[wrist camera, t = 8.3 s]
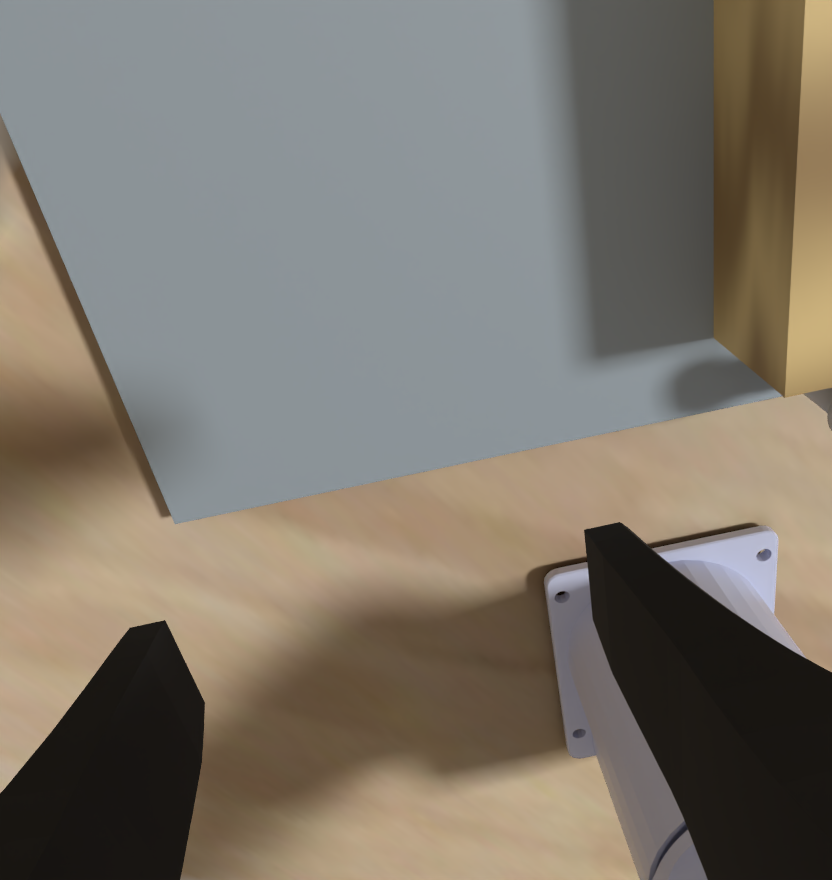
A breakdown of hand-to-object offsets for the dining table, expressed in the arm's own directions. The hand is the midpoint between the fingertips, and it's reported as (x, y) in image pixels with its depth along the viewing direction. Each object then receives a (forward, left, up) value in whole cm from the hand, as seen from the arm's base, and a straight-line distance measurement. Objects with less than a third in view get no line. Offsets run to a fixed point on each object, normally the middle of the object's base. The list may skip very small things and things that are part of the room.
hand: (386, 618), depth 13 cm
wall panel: (+5, -6, -10) cm, 13 cm away
